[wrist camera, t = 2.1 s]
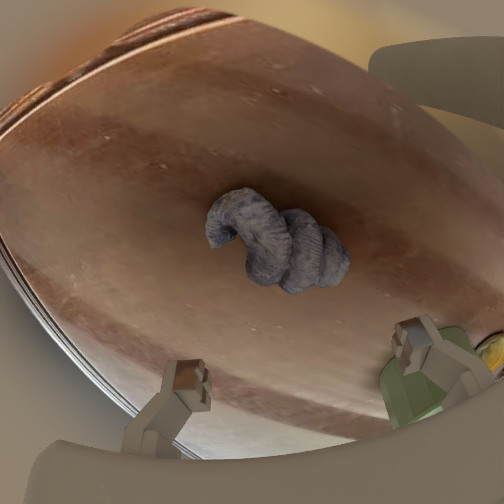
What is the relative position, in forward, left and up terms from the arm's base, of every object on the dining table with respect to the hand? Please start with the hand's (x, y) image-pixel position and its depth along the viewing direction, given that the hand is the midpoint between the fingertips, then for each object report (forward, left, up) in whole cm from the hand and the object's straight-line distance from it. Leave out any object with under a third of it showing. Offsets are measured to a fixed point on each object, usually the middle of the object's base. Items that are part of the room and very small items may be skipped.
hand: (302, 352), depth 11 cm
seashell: (0, 0, -10) cm, 10 cm away
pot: (-17, +23, -10) cm, 30 cm away
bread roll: (-31, +27, -10) cm, 42 cm away
